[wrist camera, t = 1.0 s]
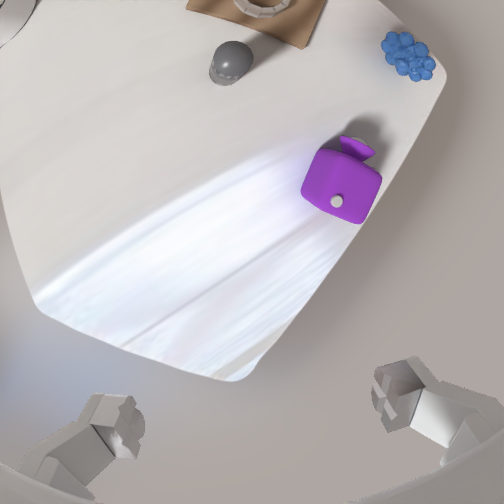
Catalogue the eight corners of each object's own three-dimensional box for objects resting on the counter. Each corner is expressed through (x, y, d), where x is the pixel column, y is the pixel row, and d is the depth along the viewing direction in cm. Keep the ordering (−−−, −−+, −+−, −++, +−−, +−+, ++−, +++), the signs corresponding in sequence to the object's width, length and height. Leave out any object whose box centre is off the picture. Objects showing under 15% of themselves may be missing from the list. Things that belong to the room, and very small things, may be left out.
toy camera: (363, 142, 46) (397, 149, 38) (346, 211, 52) (375, 230, 43) (311, 126, 44) (339, 128, 35) (294, 202, 49) (317, 221, 40)
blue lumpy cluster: (357, 52, 39) (398, 40, 28) (373, 32, 37) (414, 19, 26) (397, 95, 43) (441, 95, 33) (411, 74, 42) (454, 72, 31)
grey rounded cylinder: (204, 80, 37) (208, 68, 28) (215, 54, 36) (222, 36, 27) (233, 89, 39) (245, 80, 30) (244, 64, 37) (258, 48, 28)
